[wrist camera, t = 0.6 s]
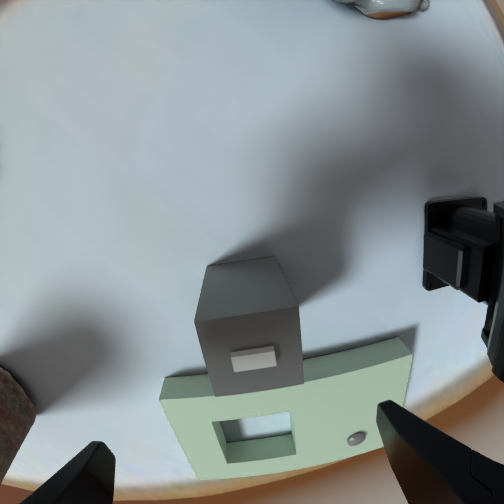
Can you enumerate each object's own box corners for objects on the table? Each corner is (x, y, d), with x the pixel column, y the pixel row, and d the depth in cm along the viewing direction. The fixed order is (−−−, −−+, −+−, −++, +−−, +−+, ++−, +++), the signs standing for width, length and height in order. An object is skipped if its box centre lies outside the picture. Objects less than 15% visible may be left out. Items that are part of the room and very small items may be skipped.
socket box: (398, 337, 21) (414, 356, 18) (383, 426, 24) (393, 445, 22) (164, 377, 21) (158, 402, 18) (200, 459, 24) (198, 482, 21)
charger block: (275, 255, 19) (300, 310, 12) (282, 316, 20) (305, 389, 13) (206, 265, 19) (193, 326, 12) (219, 325, 20) (214, 402, 13)
